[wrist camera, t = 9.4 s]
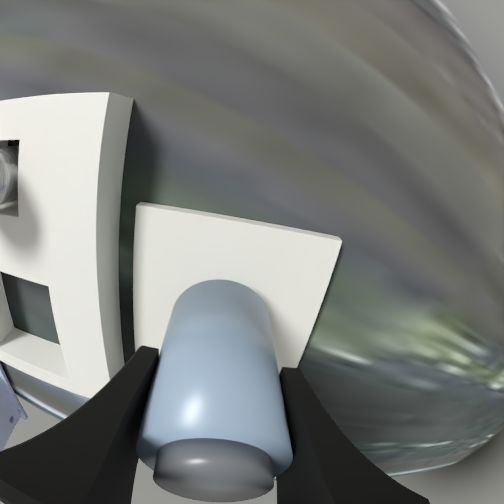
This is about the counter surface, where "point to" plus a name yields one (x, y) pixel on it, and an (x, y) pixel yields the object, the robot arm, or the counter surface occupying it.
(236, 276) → the stone coaster
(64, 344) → the white panel with holes
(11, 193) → the plunger
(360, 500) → the robot arm
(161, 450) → the capped blue cylinder
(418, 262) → the counter surface
